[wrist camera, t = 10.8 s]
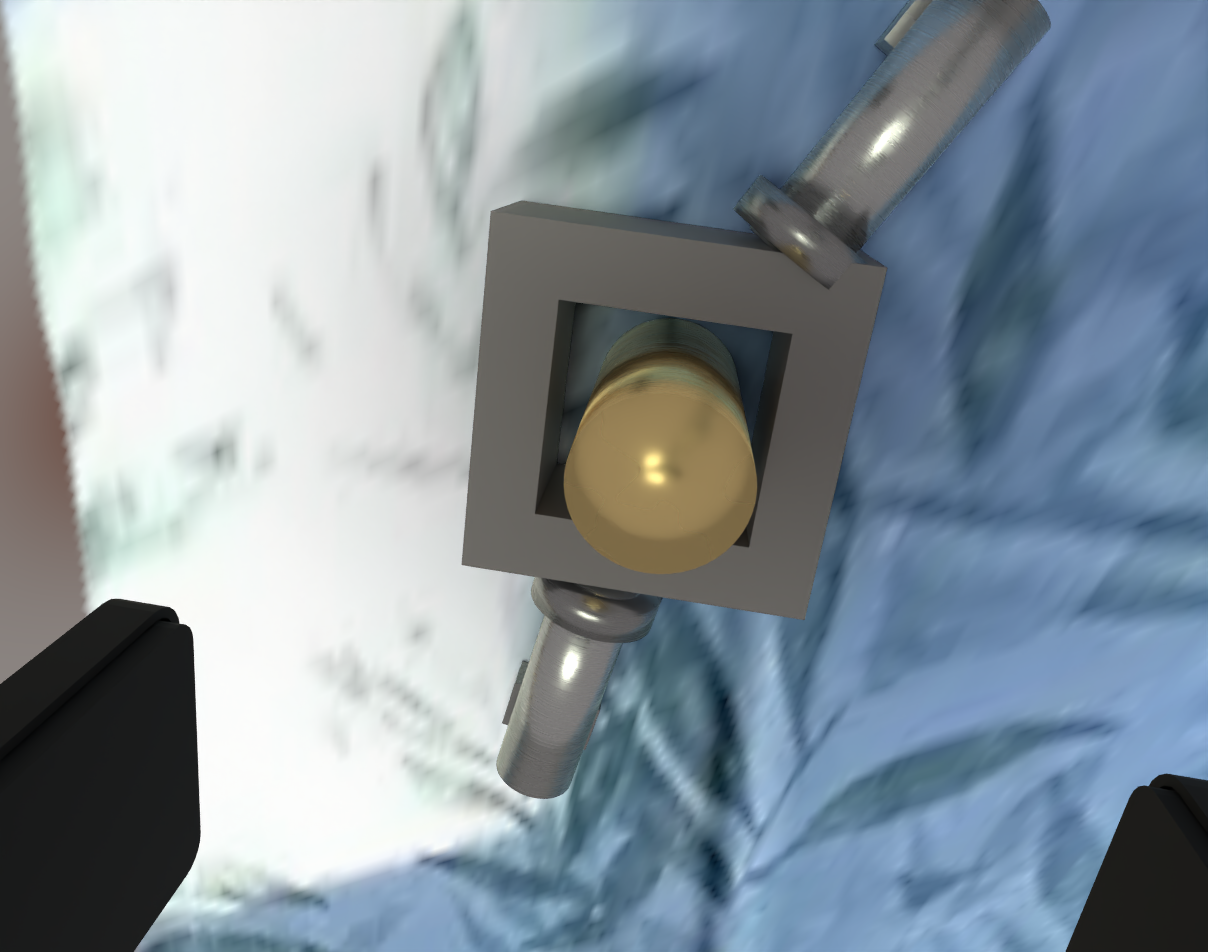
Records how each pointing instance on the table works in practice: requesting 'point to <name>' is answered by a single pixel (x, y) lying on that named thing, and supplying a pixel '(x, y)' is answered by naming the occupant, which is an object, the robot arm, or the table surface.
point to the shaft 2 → (893, 128)
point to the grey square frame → (681, 289)
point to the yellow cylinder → (663, 452)
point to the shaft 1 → (566, 680)
